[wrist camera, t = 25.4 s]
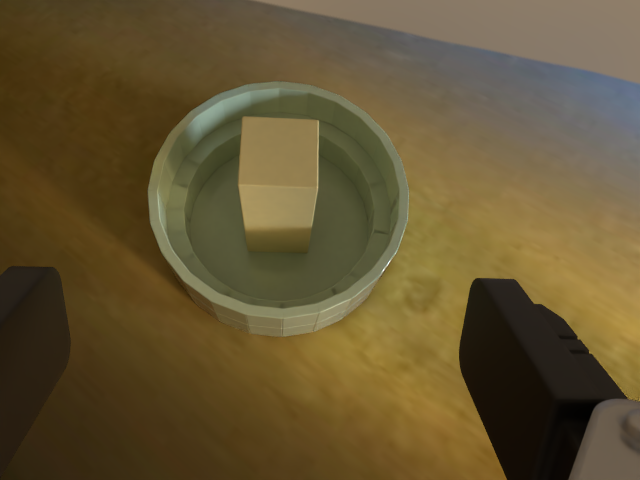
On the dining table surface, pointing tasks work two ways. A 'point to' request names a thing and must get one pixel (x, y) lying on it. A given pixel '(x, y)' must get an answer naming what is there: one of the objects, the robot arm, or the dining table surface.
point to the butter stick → (278, 182)
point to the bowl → (328, 222)
